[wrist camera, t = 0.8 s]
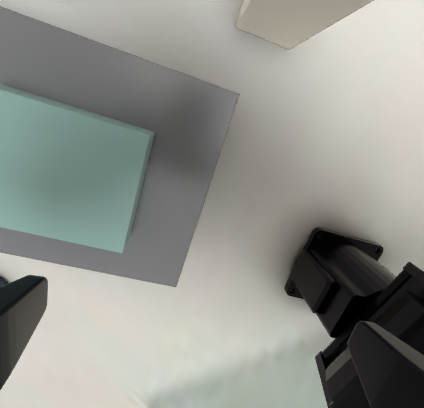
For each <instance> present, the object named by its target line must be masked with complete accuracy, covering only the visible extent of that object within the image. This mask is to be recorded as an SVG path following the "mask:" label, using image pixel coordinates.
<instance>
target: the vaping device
mask: <svg viewBox="0 0 424 408" xmlns="http://www.w3.org/2000/svg"><path fill="white" fill-rule="evenodd" d="M5 285H7V284H6V282H5V281H4V280H3V279H1V278H0V287H2V286H5Z"/></svg>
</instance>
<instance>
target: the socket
mask: <svg viewBox="0 0 424 408" xmlns="http://www.w3.org/2000/svg"><path fill="white" fill-rule="evenodd" d="M0 84H4V85H7V86H10V87H13V88H16V89H20V90H23V91H26V92H29V93H32V94H35V95H39V96H42V97H45V98H48V99H51V100H55V101H58V102H61V103H64V104H67V105H71V106H74V107H77V108H80V109H83V110H86V111H90V112H93V113H96V114H99V115H102V116H106V117H109V118H112V119H115V120H118V121H121V122H125V123H128V124H131V125H134V126H137V127H141V128H144V129H147V130H150V131H153V132H155V135H154V139H153V144H152V148H151V152H150V156H149V161H148V165H147V169H146V173H145V177H144V181H143V186H142V190H141V194H140V198H139V202H138V206H137V210H136V214H135V218H134V222H133V227H132V231H131V235H130V237H129V239H128V242H127V244H126V246H125V248H124V251H123V253H118V252H113V251H109V250H104V249H99V248H95V247H90V246H85V245H81V244H76V243H72V242H67V241H62V240H58V239H53V238H48V237H44V236H39V235H34V234H30V233H25V232H21V231H16V230H11V229H7V228H2V227H0V252H1V253H6V254H11V255H16V256H21V257H26V258H32V259H37V260H42V261H47V262H52V263H57V264H62V265H67V266H72V267H77V268H82V269H87V270H92V271H97V272H102V273H107V274H112V275H117V276H122V277H127V278H132V279H137V280H142V281H147V282H152V283H157V284H162V285H168V286H173V287H176V286H177V283H178V280H179V277H180V274H181V271H182V268H183V265H184V262H185V259H186V255H187V252H188V249H189V246H190V243H191V240H192V237H193V234H194V231H195V228H196V225H197V222H198V219H199V216H200V213H201V210H202V207H203V204H204V201H205V198H206V194H207V191H208V188H209V185H210V182H211V179H212V176H213V173H214V170H215V167H216V164H217V161H218V158H219V155H220V152H221V149H222V146H223V143H224V140H225V137H226V134H227V130H228V127H229V124H230V121H231V118H232V115H233V112H234V109H235V106H236V103H237V100H238V97H239V94H238V93H235V92H232V91H230V90H227V89H224V88H221V87H219V86H216V85H213V84H210V83H208V82H205V81H202V80H200V79H197V78H194V77H191V76H189V75H186V74H183V73H180V72H178V71H175V70H172V69H169V68H167V67H164V66H161V65H159V64H156V63H153V62H150V61H148V60H145V59H142V58H139V57H137V56H134V55H131V54H129V53H126V52H123V51H120V50H118V49H115V48H112V47H109V46H107V45H104V44H101V43H99V42H96V41H93V40H90V39H88V38H85V37H82V36H79V35H77V34H74V33H71V32H69V31H66V30H63V29H60V28H58V27H55V26H52V25H49V24H47V23H44V22H41V21H39V20H36V19H33V18H30V17H28V16H25V15H22V14H19V13H17V12H14V11H11V10H9V9H6V8H3V7H0Z"/></svg>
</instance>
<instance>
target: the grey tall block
mask: <svg viewBox="0 0 424 408" xmlns="http://www.w3.org/2000/svg"><path fill="white" fill-rule="evenodd" d="M372 1H374V0H243V3H242V7H241V10H240V13H239V17H238V20H237V23H236V28H239V29H241V30H243V31H246V32H248V33H251V34H253V35H255V36H258V37H260V38H262V39H265V40H267V41H270V42H272V43H274V44H277V45H279V46H282V47H284V48H286V49H289V50H290V49H291V48H293V47H295V46H297V45H298V44H300V43H302V42H303V41H305V40H307V39H309V38H310V37H312V36H314V35H315V34H317V33H319V32H321V31H322V30H324V29H326V28H327V27H329V26H331V25H333V24H334V23H336V22H338V21H340V20H341V19H343V18H345V17H346V16H348V15H350V14H352V13H353V12H355V11H357V10H358V9H360V8H362V7H364V6H365V5H367V4H369V3H370V2H372Z"/></svg>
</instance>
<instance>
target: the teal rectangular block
mask: <svg viewBox="0 0 424 408" xmlns="http://www.w3.org/2000/svg"><path fill="white" fill-rule="evenodd" d="M154 135H155V132H153V131H150V130H147V129H144V128H141V127H137V126H134V125H131V124H128V123H125V122H121V121H118V120H115V119H112V118H109V117H106V116H102V115H99V114H96V113H93V112H90V111H86V110H83V109H80V108H77V107H74V106H71V105H67V104H64V103H61V102H58V101H55V100H51V99H48V98H45V97H42V96H39V95H35V94H32V93H29V92H26V91H23V90H20V89H16V88H13V87H10V86H7V85H4V84H0V227H2V228H7V229H11V230H16V231H21V232H25V233H30V234H34V235H39V236H44V237H48V238H53V239H58V240H62V241H67V242H72V243H76V244H81V245H85V246H90V247H95V248H99V249H104V250H109V251H113V252H118V253H123V251H124V248H125V246H126V244H127V242H128V239H129V237H130V235H131V231H132V227H133V222H134V218H135V214H136V210H137V206H138V202H139V197H140V193H141V189H142V185H143V181H144V177H145V172H146V168H147V164H148V160H149V156H150V151H151V147H152V143H153V139H154Z"/></svg>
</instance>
